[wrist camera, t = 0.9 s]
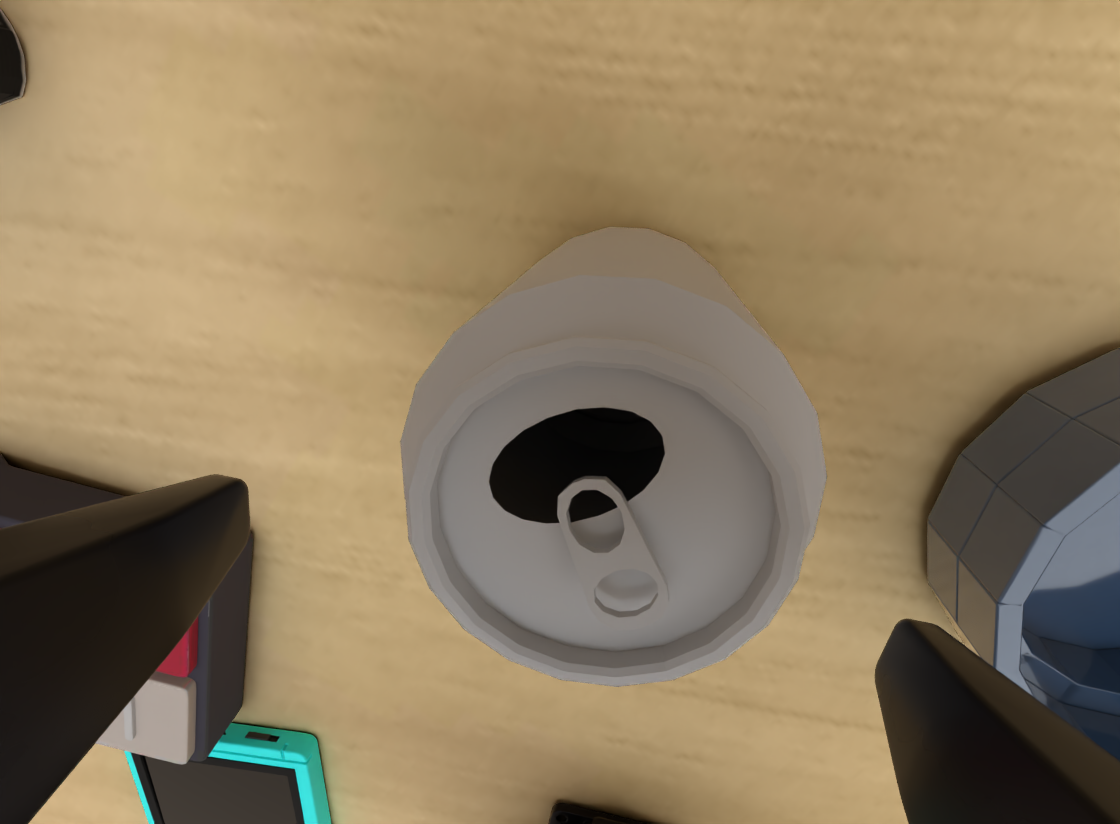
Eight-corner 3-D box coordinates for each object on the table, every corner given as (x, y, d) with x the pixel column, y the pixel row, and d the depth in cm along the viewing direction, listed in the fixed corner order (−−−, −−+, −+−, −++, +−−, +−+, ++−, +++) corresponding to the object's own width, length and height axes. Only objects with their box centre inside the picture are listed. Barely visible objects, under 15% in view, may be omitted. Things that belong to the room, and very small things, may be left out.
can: (687, 181, 18) (760, 190, 7) (767, 396, 20) (922, 666, 9) (474, 283, 20) (266, 417, 9) (567, 469, 22) (494, 764, 11)
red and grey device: (194, 782, 26) (-152, 695, 25) (249, 699, 30) (-50, 624, 29) (199, 585, 22) (-218, 478, 21) (263, 520, 25) (-87, 428, 25)
